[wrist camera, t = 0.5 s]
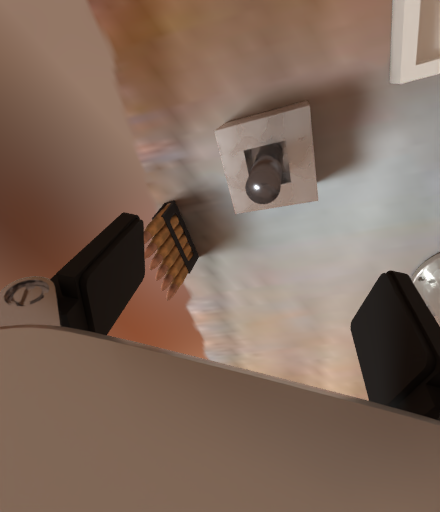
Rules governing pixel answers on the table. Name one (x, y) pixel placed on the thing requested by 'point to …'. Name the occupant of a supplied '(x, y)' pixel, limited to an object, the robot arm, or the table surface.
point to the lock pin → (265, 175)
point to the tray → (414, 40)
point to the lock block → (264, 133)
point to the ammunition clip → (170, 247)
